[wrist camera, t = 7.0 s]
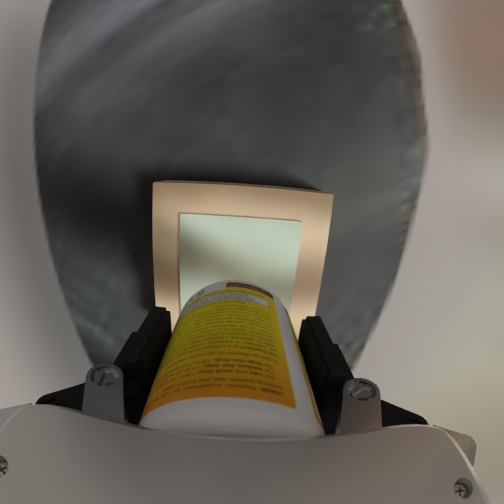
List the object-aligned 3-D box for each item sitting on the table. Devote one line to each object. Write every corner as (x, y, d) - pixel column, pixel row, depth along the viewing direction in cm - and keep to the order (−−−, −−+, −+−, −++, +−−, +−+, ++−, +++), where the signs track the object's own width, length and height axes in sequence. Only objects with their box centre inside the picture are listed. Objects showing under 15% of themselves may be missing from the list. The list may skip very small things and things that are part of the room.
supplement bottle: (158, 316, 13) (75, 497, 3) (244, 252, 12) (250, 480, 3) (228, 382, 15) (220, 550, 5) (310, 333, 14) (376, 516, 4)
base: (165, 180, 20) (152, 182, 17) (321, 191, 20) (334, 195, 17) (167, 319, 23) (158, 339, 20) (301, 327, 24) (308, 348, 21)
